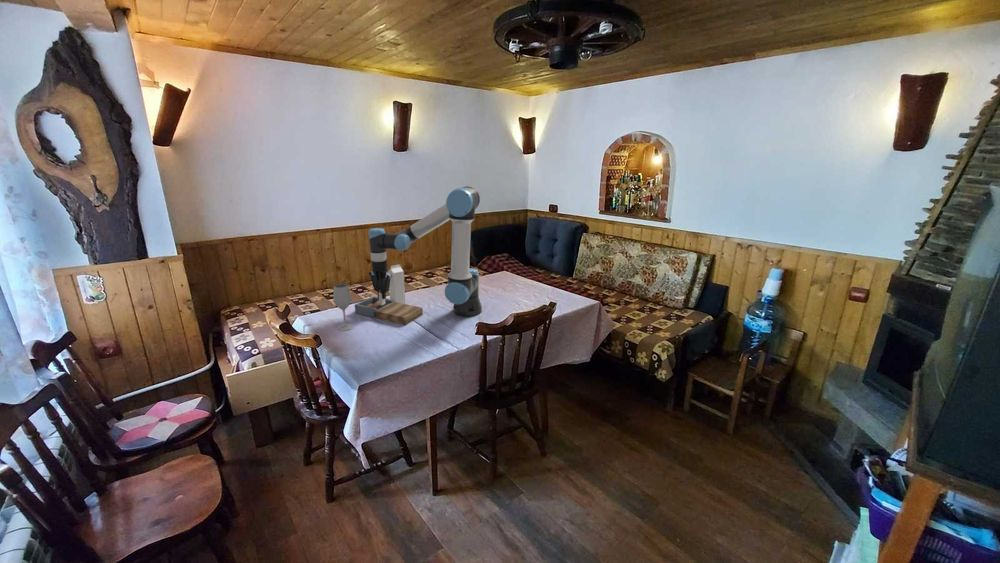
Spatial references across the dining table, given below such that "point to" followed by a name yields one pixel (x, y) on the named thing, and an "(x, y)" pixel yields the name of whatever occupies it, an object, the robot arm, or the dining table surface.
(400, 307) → the board
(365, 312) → the tray
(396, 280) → the milk
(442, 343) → the dining table surface
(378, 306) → the tile
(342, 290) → the wineglass
